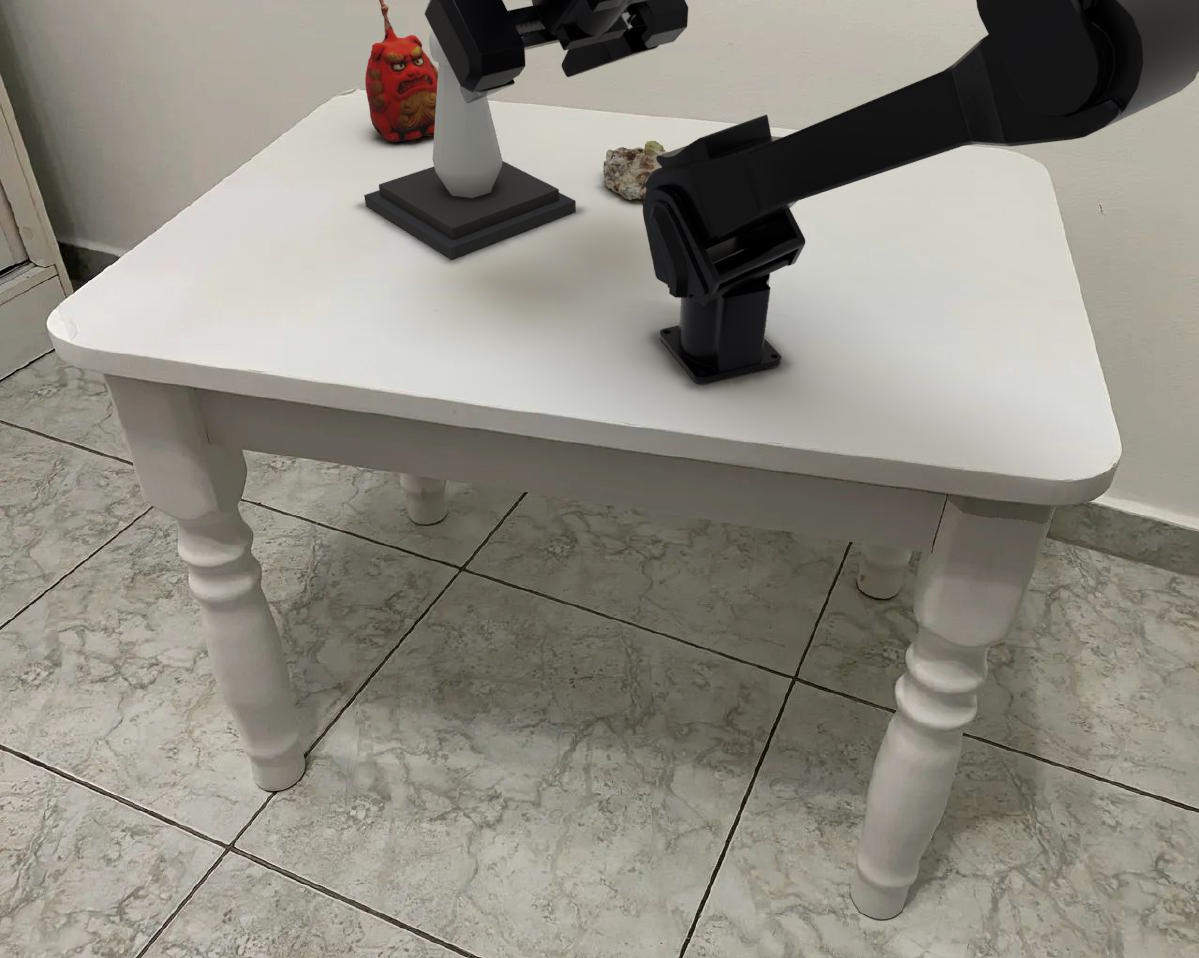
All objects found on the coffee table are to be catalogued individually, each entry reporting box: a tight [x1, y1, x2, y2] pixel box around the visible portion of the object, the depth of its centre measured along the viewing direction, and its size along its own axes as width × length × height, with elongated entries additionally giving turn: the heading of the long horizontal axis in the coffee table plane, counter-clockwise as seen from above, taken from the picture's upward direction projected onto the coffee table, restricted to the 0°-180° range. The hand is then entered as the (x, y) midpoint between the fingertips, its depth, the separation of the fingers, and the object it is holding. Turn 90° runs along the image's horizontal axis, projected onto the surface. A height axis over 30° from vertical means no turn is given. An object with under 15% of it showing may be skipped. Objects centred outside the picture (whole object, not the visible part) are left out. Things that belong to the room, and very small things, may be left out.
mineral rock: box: [602, 140, 668, 201], centre depth 89 cm, size 11×4×8 cm
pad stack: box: [363, 160, 577, 260], centre depth 86 cm, size 13×13×2 cm
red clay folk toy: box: [364, 0, 438, 143], centre depth 95 cm, size 8×7×15 cm
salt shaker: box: [428, 30, 503, 198], centre depth 81 cm, size 6×6×13 cm
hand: (516, 83), depth 74 cm, fingers open, 9 cm apart
